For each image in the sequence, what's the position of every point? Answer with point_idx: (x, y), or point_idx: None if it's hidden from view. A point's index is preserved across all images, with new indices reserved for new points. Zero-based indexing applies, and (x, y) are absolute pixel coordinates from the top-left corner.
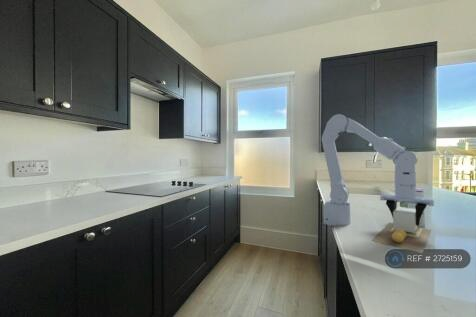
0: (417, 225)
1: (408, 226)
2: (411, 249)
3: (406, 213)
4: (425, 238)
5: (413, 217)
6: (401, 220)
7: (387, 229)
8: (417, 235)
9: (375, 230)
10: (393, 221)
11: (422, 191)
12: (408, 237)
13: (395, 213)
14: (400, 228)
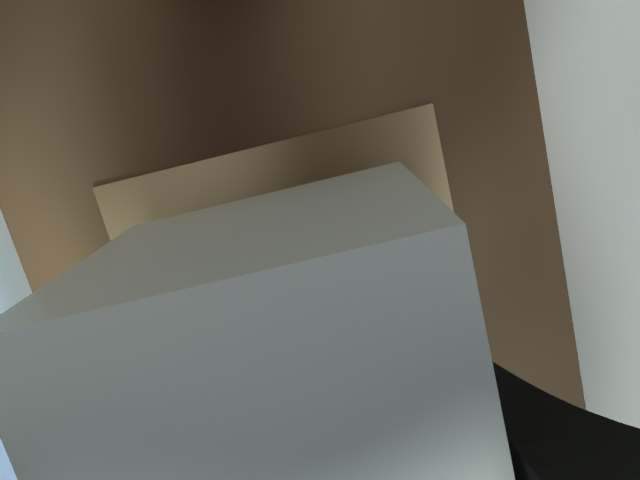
0: None
1: (184, 228)
2: None
3: (137, 319)
4: (36, 238)
5: (16, 304)
6: (274, 222)
7: (495, 191)
8: None
9: (631, 120)
10: (413, 176)
11: None
12: (164, 81)
13: (393, 224)
14: (304, 189)
